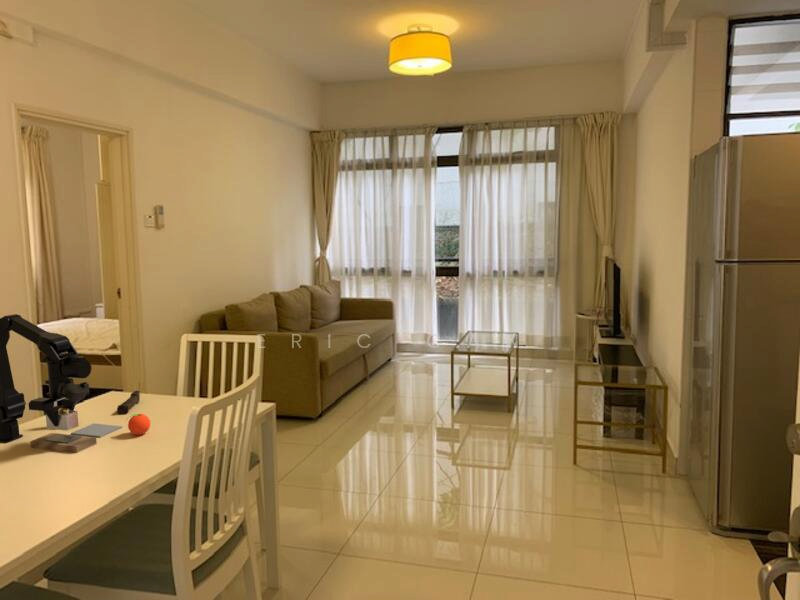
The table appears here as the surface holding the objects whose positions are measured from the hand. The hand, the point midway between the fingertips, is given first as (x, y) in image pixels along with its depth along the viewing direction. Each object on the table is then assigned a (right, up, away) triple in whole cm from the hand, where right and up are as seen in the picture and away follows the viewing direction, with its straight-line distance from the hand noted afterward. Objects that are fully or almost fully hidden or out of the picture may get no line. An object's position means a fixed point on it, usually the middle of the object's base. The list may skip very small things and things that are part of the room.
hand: (62, 423), depth 189 cm
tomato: (+19, -6, +11) cm, 23 cm away
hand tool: (+3, -3, +41) cm, 41 cm away
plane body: (0, -7, +1) cm, 7 cm away
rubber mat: (+4, -5, +14) cm, 16 cm away
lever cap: (0, -1, 0) cm, 1 cm away
